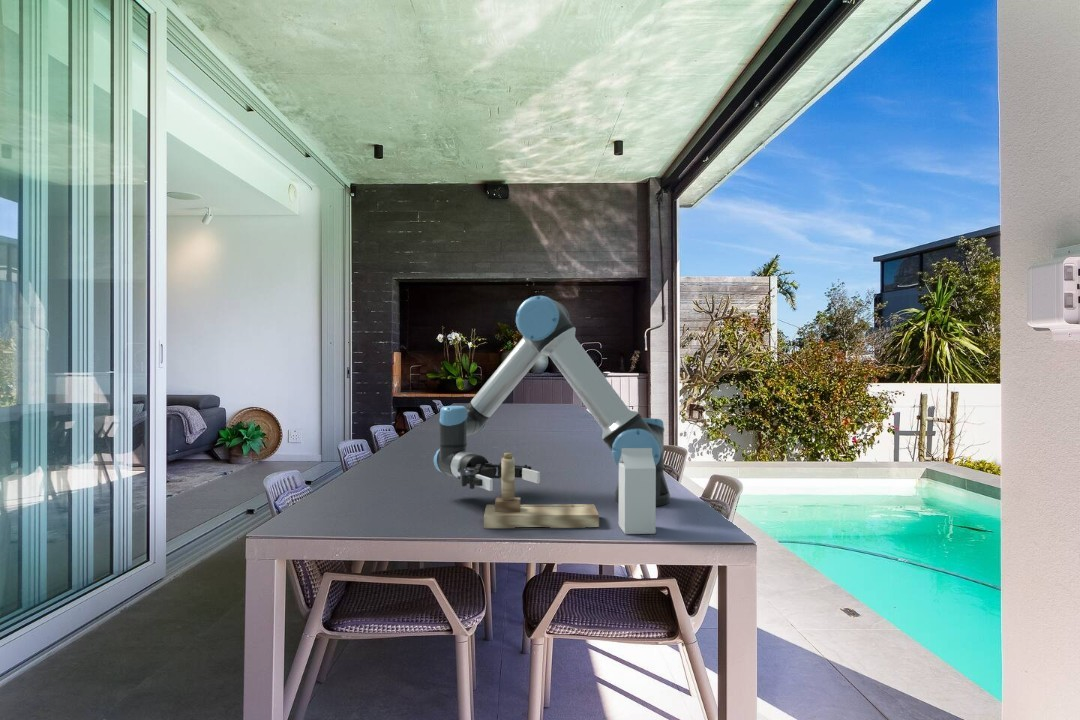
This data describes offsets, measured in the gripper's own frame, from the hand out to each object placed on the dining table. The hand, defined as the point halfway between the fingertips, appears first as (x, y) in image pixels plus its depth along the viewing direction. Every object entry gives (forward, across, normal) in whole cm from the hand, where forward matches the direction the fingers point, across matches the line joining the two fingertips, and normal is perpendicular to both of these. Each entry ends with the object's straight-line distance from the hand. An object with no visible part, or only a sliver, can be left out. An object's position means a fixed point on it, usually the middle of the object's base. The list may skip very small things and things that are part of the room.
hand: (515, 481), depth 140 cm
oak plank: (+1, -7, -10) cm, 12 cm away
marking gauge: (-3, 0, -8) cm, 8 cm away
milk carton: (+20, -21, -11) cm, 30 cm away
